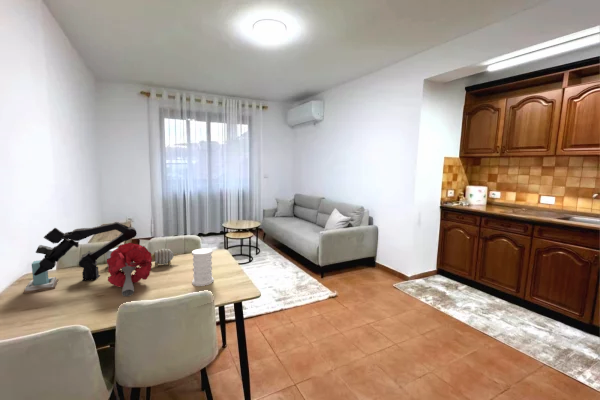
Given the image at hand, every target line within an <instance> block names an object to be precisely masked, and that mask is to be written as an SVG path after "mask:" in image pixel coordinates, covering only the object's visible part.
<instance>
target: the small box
mask: <svg viewBox="0 0 600 400" xmlns="http://www.w3.org/2000/svg"><path fill="white" fill-rule="evenodd" d="M118 247H119V246H118ZM118 247H117V246H116V247H114V248H113V249H111V250H110V251H108V252H106V260H107V259H108V258H111V256H110V255H111V253H112V251H114V250H115V249H117V248H118ZM106 266H107V267H109V265H108V264H107V265H106Z"/></svg>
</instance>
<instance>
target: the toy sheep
mask: <svg viewBox="0 0 600 400" xmlns="http://www.w3.org/2000/svg"><path fill="white" fill-rule="evenodd" d="M178 255H179V254H178V253H174V252H173V251H172V250H171V249H170V248H160V249H157V250H154V252H153V253H151V257H152V262H151V263H154V265H155V267H156V268H159V265H162V266H164V265H167V264H168V266H171V265H172V262H171V261H172V260H173V258H174V257H177V256H178ZM170 264H171V265H170Z"/></svg>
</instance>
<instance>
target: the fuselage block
mask: <svg viewBox="0 0 600 400" xmlns="http://www.w3.org/2000/svg"><path fill="white" fill-rule="evenodd" d="M41 260H42V259H40V260H34V261H33V262H32V263H31V270H32V280H33V283H34V286H36V285H42V284H48V283H49V279H48V278H49V270H48V271H45V272H43V273H41V274H39V275H36V276H35V275H34V273H35V272H36V271H37V269H38V268H39V267H40V264H39V263H40V261H41Z"/></svg>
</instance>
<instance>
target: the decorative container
mask: <svg viewBox="0 0 600 400" xmlns="http://www.w3.org/2000/svg"><path fill="white" fill-rule="evenodd" d="M212 254H213V249H212V248H205V247H204V248H202V247H201V248H198V249H197V248H196V249H194V250H192V251H191V255H192V256H193V257H192V266H193V269H192V271H193V274H192V275H193V279H191V280H192V281H191V283H192V285H193V286H195V287H204V286H205V285H206V286H209V285H211V284H213V283H214V281H215V280H214V277H213V272H212V270H213V267H212V264H213V262H212V259H213V257H212ZM212 282H213V283H212ZM210 283H211V284H210ZM206 286H205V287H206Z"/></svg>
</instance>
